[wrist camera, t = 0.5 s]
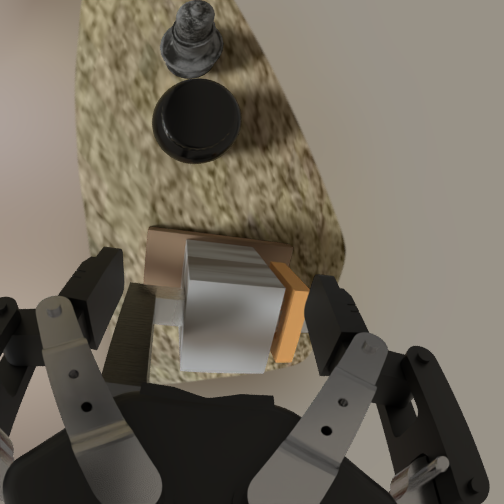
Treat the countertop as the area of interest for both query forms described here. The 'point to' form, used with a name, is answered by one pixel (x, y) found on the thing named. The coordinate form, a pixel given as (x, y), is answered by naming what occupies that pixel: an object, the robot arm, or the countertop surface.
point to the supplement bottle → (196, 121)
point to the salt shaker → (192, 41)
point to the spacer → (289, 313)
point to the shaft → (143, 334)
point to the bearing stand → (220, 296)
